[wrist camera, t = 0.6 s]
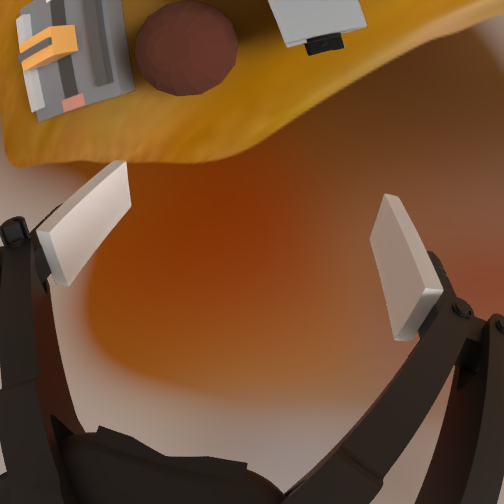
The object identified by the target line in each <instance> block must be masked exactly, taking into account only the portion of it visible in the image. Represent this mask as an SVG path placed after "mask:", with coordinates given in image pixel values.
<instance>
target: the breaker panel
mask: <svg viewBox="0 0 504 504" xmlns="http://www.w3.org/2000/svg"><path fill="white" fill-rule="evenodd" d="M16 23H17V33H18V41H19V45H20V44H22V43H23V42H25V41H26V40H28V39H30V38H31V37H33V36H34V35H36V34H38V33H39V32H41V31H43V30H45V29H46V28H48V27H50V26H62V25H74V26H75V33H76V40H77V46H78V51H76V52H74V53H72V54H70V55H67V56H65V57H63V58H61V59H59V60H57V61H55V62H53V63H51V64H49V65H46V66H42V67H38V68H34V69H31V70H27V71H24V72H23V73H24V79H25V84H26V89H27V94H28V98H29V103H30V107H31V111H32V112H34V111H36V114H37V118H38V121H39V122H41V121H44V120H47V119H49V118H52V117H54V116H57V115H60V114H63V113H65V112H68V111H71V110H74V109H77V108H80V107H83V106H86V105H89V104H92V103H96V102H99V101H102V100H106V99H109V98H113V97H116V96H120V95H123V94H126V93H129V92H131V91H134V90H135V84H134V79H133V73H132V68H131V62H130V56H129V50H128V43H127V37H126V30H125V23H124V16H123V8H122V0H34V1H32V2H31V3H29V4H28V5H26V6H25V7H23V8H22V9H20V17H19V18H17V19H16Z"/></svg>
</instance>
